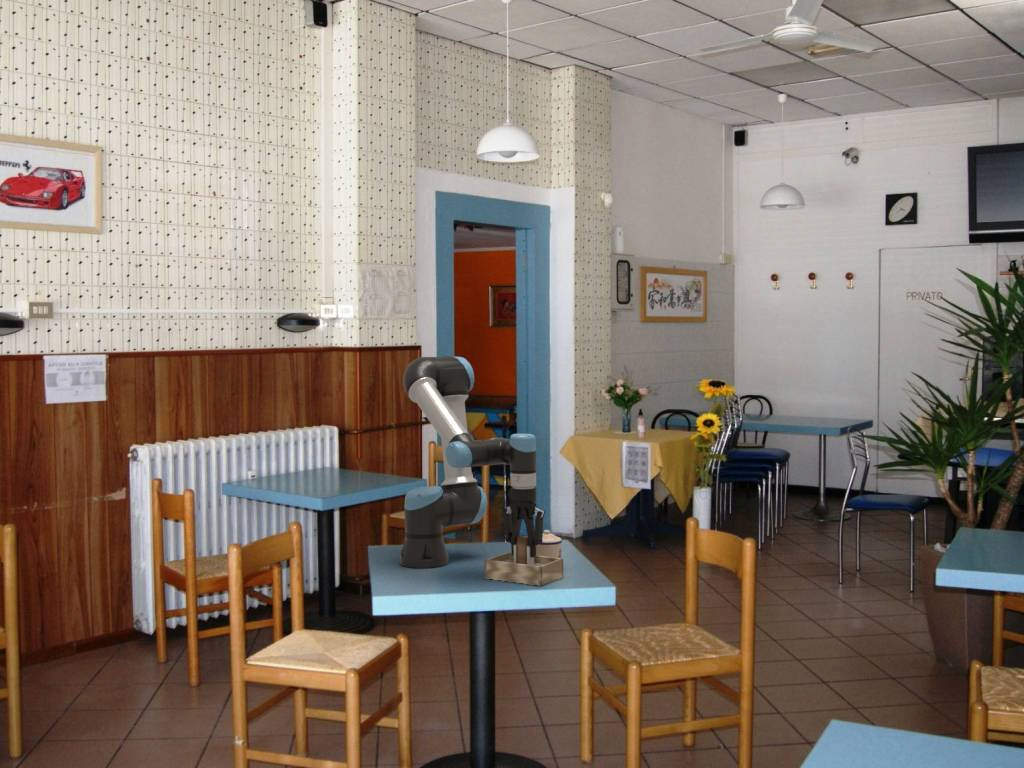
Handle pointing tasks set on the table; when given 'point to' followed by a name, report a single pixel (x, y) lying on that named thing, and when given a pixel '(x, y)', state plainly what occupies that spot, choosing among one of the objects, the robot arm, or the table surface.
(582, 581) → the table surface
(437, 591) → the table surface
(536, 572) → the box with hole
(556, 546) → the teacup with lid
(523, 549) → the peg
